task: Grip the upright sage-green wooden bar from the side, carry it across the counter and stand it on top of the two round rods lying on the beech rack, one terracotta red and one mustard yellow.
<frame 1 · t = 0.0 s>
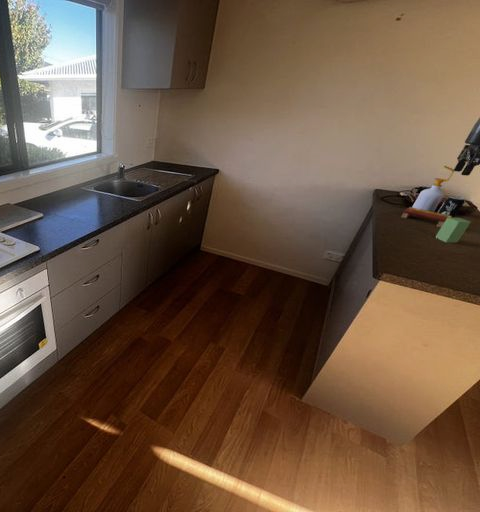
hand: (460, 173, 120), 30 cm above the worktop, tool pointing down, fingers open, 8 cm apart
bolt: (449, 211, 165), on the worktop
green bar: (445, 240, 132), on the worktop
beverage can: (442, 219, 154), on the worktop
soap bottle: (422, 210, 166), on the worktop
rod rack: (423, 221, 152), on the worktop
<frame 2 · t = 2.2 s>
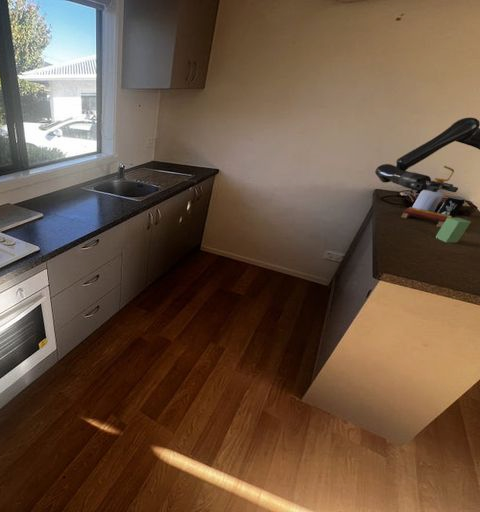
hand: (446, 190, 132), 20 cm above the worktop, tool horizontal, fingers open, 8 cm apart
nothing on the worktop moved.
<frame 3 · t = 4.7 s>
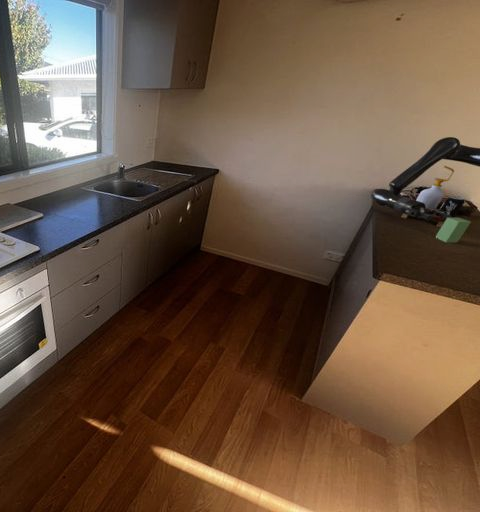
hand: (440, 218, 134), 8 cm above the worktop, tool horizontal, fingers open, 8 cm apart
nothing on the worktop moved.
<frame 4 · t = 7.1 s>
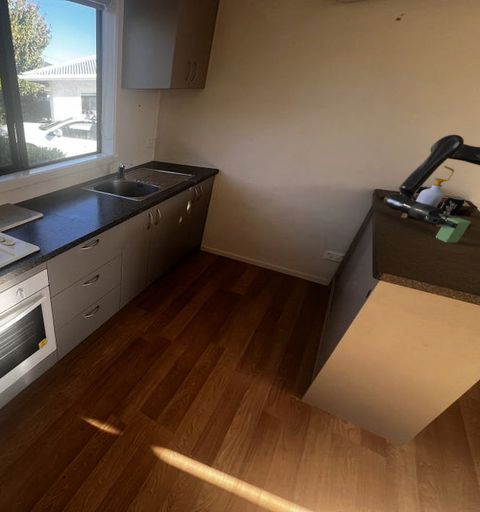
hand: (462, 226, 126), 8 cm above the worktop, tool horizontal, fingers closed on green bar, 5 cm apart
green bar: (445, 240, 132), on the worktop, touching gripper
everything else where it was.
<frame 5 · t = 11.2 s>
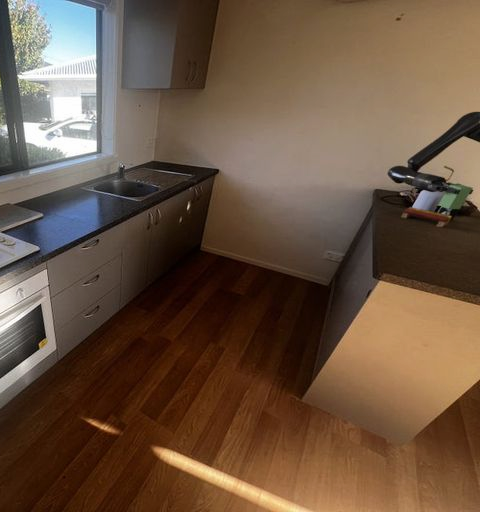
hand: (464, 192, 130), 20 cm above the worktop, tool horizontal, fingers closed on green bar, 5 cm apart
green bar: (448, 207, 136), point 12 cm above the worktop, touching gripper
everything else where it was.
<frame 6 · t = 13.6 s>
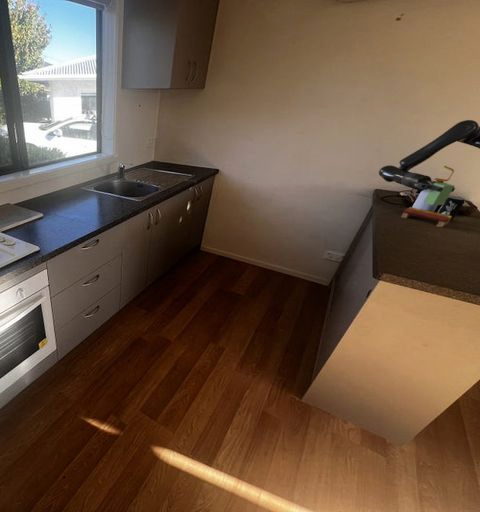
hand: (447, 189, 142), 17 cm above the worktop, tool horizontal, fingers closed on green bar, 5 cm apart
green bar: (432, 203, 148), point 9 cm above the worktop, touching gripper
everything else where it was.
when the fingers open (13 cm above the worktop, at t = 15.4 s): green bar stays where it is, resting on rod rack.
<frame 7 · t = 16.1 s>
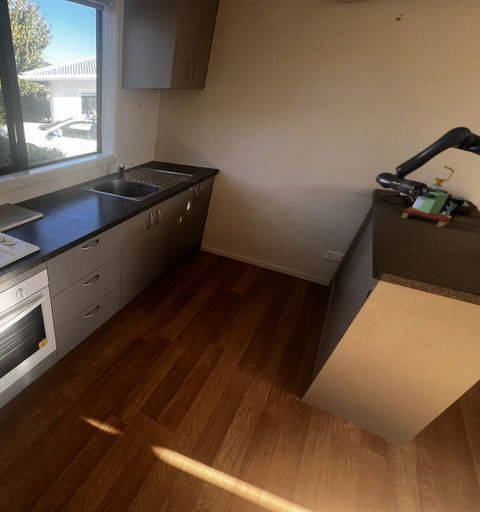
hand: (441, 196, 144), 14 cm above the worktop, tool horizontal, fingers open, 8 cm apart
green bar: (428, 211, 150), point 5 cm above the worktop, touching rod rack
everything else where it was.
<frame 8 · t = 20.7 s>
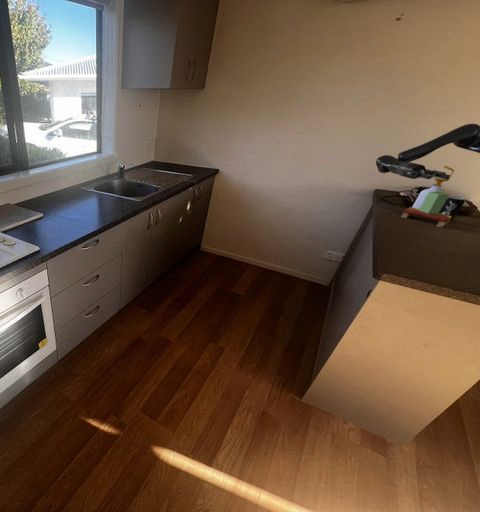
hand: (439, 177, 145), 22 cm above the worktop, tool horizontal, fingers open, 8 cm apart
nothing on the worktop moved.
at the end: green bar inside the target area on the rod rack (0.1 cm from its centre), point 5.0 cm above the rod rack's base; green bar tilted 0°; the gripper is holding nothing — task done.
